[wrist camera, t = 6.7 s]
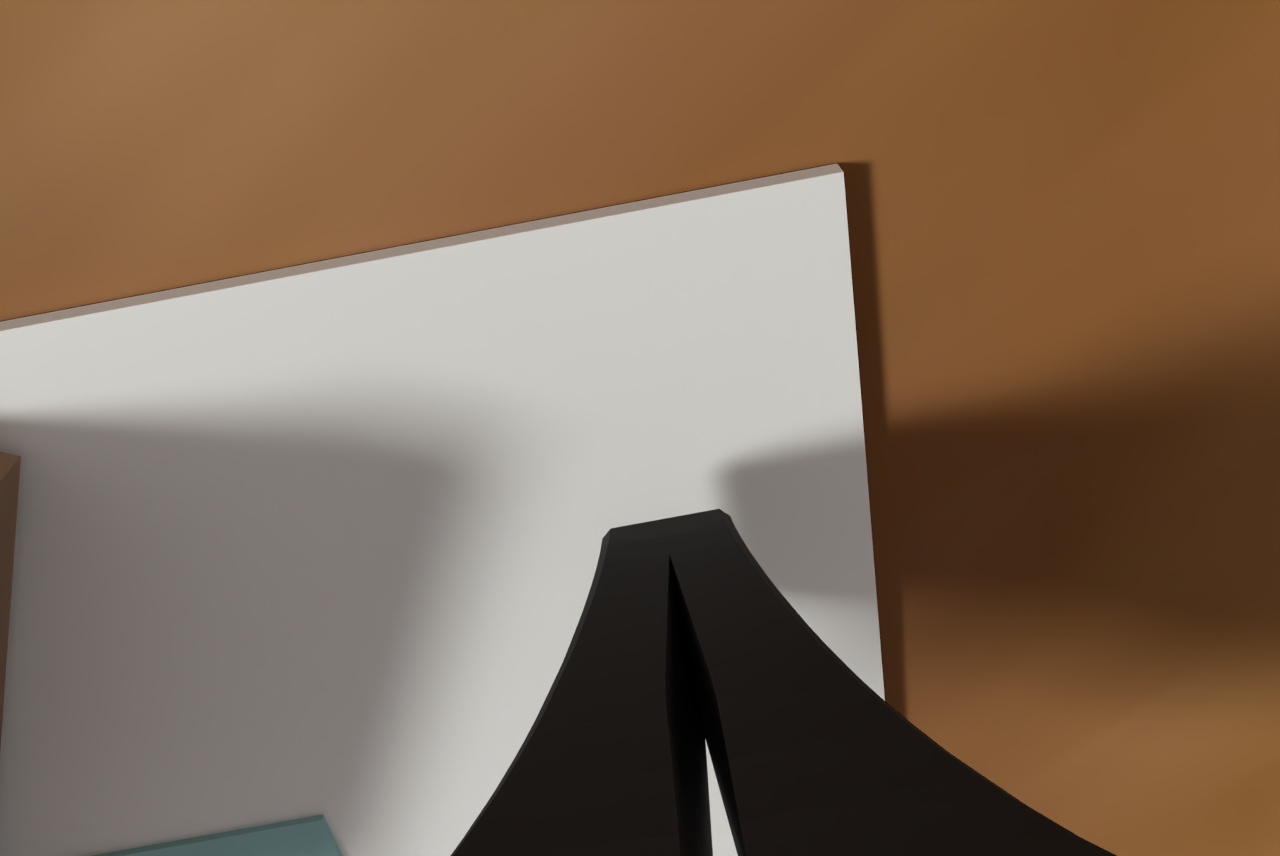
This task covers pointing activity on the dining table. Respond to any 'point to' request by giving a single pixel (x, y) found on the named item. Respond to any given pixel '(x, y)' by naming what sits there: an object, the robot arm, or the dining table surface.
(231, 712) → the card
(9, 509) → the fence panel
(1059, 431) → the dining table surface
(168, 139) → the dining table surface
